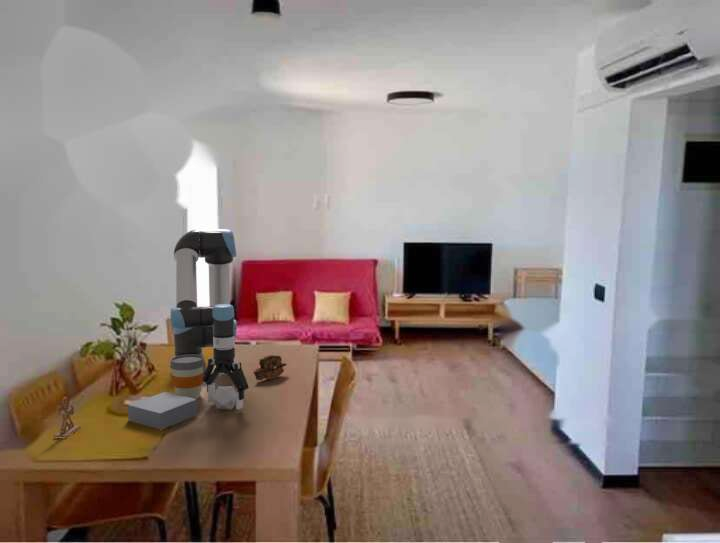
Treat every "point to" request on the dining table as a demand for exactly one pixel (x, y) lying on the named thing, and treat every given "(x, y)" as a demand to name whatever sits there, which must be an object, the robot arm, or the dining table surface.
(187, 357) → the reusable coffee cup
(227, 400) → the die
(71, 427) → the brown figurine
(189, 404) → the slate block
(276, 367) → the wooden carving
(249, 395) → the dining table surface
